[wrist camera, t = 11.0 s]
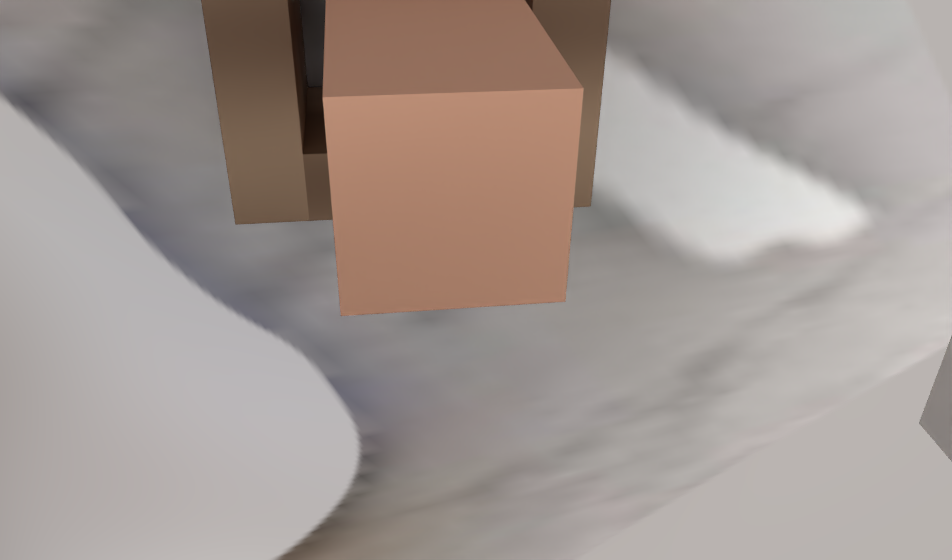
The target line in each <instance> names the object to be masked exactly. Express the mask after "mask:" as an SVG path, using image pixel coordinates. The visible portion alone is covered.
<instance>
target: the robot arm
mask: <svg viewBox="0 0 952 560" xmlns="http://www.w3.org/2000/svg"><path fill="white" fill-rule="evenodd" d="M919 424H920V425H921V426H922V427H923V428H924V430H925V431H926V432H927V433H928V434H929V435H930V437H931V438H932V439H933V440H934V441H935V442H936V444H937V445H938V446H939V447H940V448H941V449H942V451H944V453H945V454H946V455H947V456H948V458H949V459H950V460H951V461H952V337H951V339H950V342H949V345H948V347H947V350H946V353H945V355H944V358H943V361H942V364H941V366H940V369H939V371H938V374H937V377H936V379H935V382H934V385H933V387H932V390H931V393H930V395H929V398H928V400H927V403H926V406H925V408H924V411H923V414H922V417H921V419H920V422H919Z"/></svg>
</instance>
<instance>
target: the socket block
mask: <svg viewBox="0 0 952 560" xmlns="http://www.w3.org/2000/svg"><path fill="white" fill-rule="evenodd" d="M525 1H526V3H527V4H528V6H529V7H530V9H531V10H532V12H533V13H534V15H535V16H536V18H537V19H538V21H539V22H540V24H541V25H542V27H543V28H544V30H545V31H546V33H547V34H548V36H549V37H550V39H551V40H552V42H553V43H554V45H555V46H556V48H557V49H558V51H559V52H560V54H561V55H562V57H563V58H564V60H565V61H566V63H567V64H568V66H569V67H570V69H571V70H572V72H573V73H574V75H575V76H576V78H577V79H578V81H579V82H580V84H581V85H582V87H583V88H584V91H583V102H582V114H581V125H580V137H579V148H578V160H577V172H576V183H575V195H574V206H573V207H589V206H591V197H592V187H593V177H594V167H595V157H596V147H597V137H598V126H599V116H600V106H601V96H602V86H603V76H604V65H605V55H606V45H607V35H608V25H609V15H610V5H611V0H525ZM201 2H202V9H203V15H204V22H205V28H206V35H207V41H208V48H209V54H210V61H211V67H212V74H213V81H214V87H215V94H216V100H217V107H218V113H219V120H220V126H221V133H222V139H223V146H224V152H225V159H226V165H227V172H228V178H229V185H230V192H231V198H232V205H233V211H234V218H235V224H255V223H275V222H294V221H314V220H333V216H332V204H331V192H330V180H329V168H328V156H327V144H326V132H325V120H324V108H323V87H308V85H307V74H306V64H305V53H304V42H303V31H302V20H301V10H300V0H201Z"/></svg>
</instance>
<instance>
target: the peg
mask: <svg viewBox="0 0 952 560" xmlns="http://www.w3.org/2000/svg"><path fill="white" fill-rule="evenodd" d="M583 91H584V88H583V87H582V85H581V84H580V82H579V81H578V79H577V78H576V76H575V75H574V73H573V72H572V70H571V69H570V67H569V66H568V64H567V63H566V61H565V60H564V58H563V57H562V55H561V54H560V52H559V51H558V49H557V48H556V46H555V45H554V43H553V42H552V40H551V39H550V37H549V36H548V34H547V33H546V31H545V30H544V28H543V27H542V25H541V24H540V22H539V21H538V19H537V18H536V16H535V15H534V13H533V12H532V10H531V9H530V7H529V6H528V4H527V3H526V1H525V0H326V9H325V39H324V70H323V108H324V120H325V132H326V144H327V156H328V168H329V180H330V192H331V204H332V216H333V228H334V240H335V252H336V264H337V276H338V287H339V299H340V311H341V316H349V315H364V314H380V313H396V312H411V311H427V310H442V309H458V308H473V307H489V306H505V305H520V304H536V303H551V302H565V299H566V287H567V276H568V264H569V253H570V241H571V230H572V218H573V206H574V195H575V183H576V172H577V160H578V148H579V137H580V125H581V114H582V102H583Z"/></svg>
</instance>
